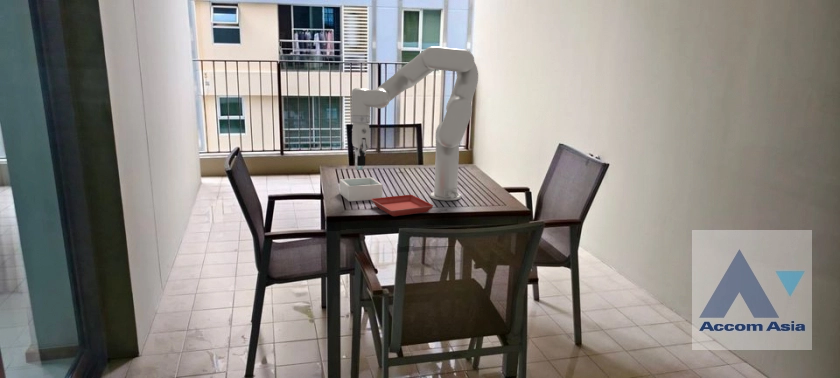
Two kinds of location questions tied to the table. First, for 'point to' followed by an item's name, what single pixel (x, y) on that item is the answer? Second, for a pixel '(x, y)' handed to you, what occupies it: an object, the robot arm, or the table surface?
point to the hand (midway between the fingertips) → (359, 164)
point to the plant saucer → (402, 205)
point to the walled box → (360, 189)
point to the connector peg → (356, 161)
